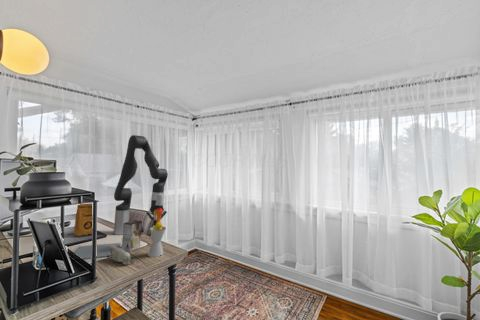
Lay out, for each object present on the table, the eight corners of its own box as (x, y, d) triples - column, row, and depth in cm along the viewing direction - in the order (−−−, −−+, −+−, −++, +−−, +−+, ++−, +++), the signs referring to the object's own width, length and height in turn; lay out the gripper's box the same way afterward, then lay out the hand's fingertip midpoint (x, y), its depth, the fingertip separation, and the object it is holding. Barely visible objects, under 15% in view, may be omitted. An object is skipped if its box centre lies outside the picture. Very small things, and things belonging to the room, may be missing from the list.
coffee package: (97, 234, 152) (100, 203, 153) (75, 238, 143) (78, 205, 144) (93, 231, 159) (96, 201, 160) (72, 234, 150) (75, 202, 151)
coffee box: (131, 245, 137) (133, 219, 138) (140, 246, 136) (142, 220, 137) (120, 250, 128) (123, 223, 129) (130, 251, 127) (132, 224, 128)
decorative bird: (123, 267, 107) (125, 252, 108) (104, 259, 115) (105, 245, 115) (133, 263, 112) (134, 249, 112) (114, 256, 119) (115, 243, 120)
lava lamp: (145, 253, 126) (150, 193, 128) (160, 250, 132) (165, 193, 133) (150, 258, 119) (155, 195, 121) (166, 255, 125) (170, 195, 126)
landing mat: (78, 247, 128) (78, 246, 128) (120, 243, 138) (120, 242, 138) (70, 260, 110) (70, 259, 110) (119, 255, 120) (119, 254, 120)
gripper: (167, 198, 146) (165, 224, 145) (146, 198, 140) (144, 225, 139) (169, 199, 139) (167, 226, 138) (146, 200, 133) (144, 228, 132)
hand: (155, 226), depth 138 cm, fingers closed
